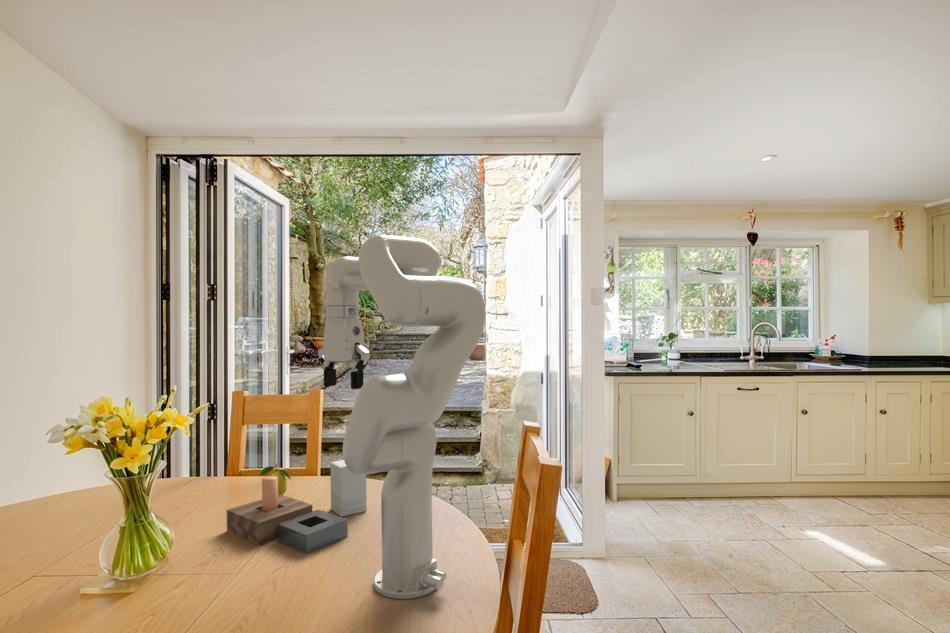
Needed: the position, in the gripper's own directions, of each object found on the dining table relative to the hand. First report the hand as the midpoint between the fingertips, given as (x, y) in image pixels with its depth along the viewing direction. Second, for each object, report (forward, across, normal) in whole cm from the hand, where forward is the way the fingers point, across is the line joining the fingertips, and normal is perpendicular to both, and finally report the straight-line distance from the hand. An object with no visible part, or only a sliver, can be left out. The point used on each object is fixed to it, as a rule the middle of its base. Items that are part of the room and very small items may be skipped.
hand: (343, 387), depth 124 cm
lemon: (+34, +36, -5) cm, 50 cm away
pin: (+34, +18, +8) cm, 40 cm away
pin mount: (+34, +4, +6) cm, 35 cm away
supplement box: (+34, +12, -11) cm, 38 cm away
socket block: (+34, +18, +8) cm, 40 cm away
